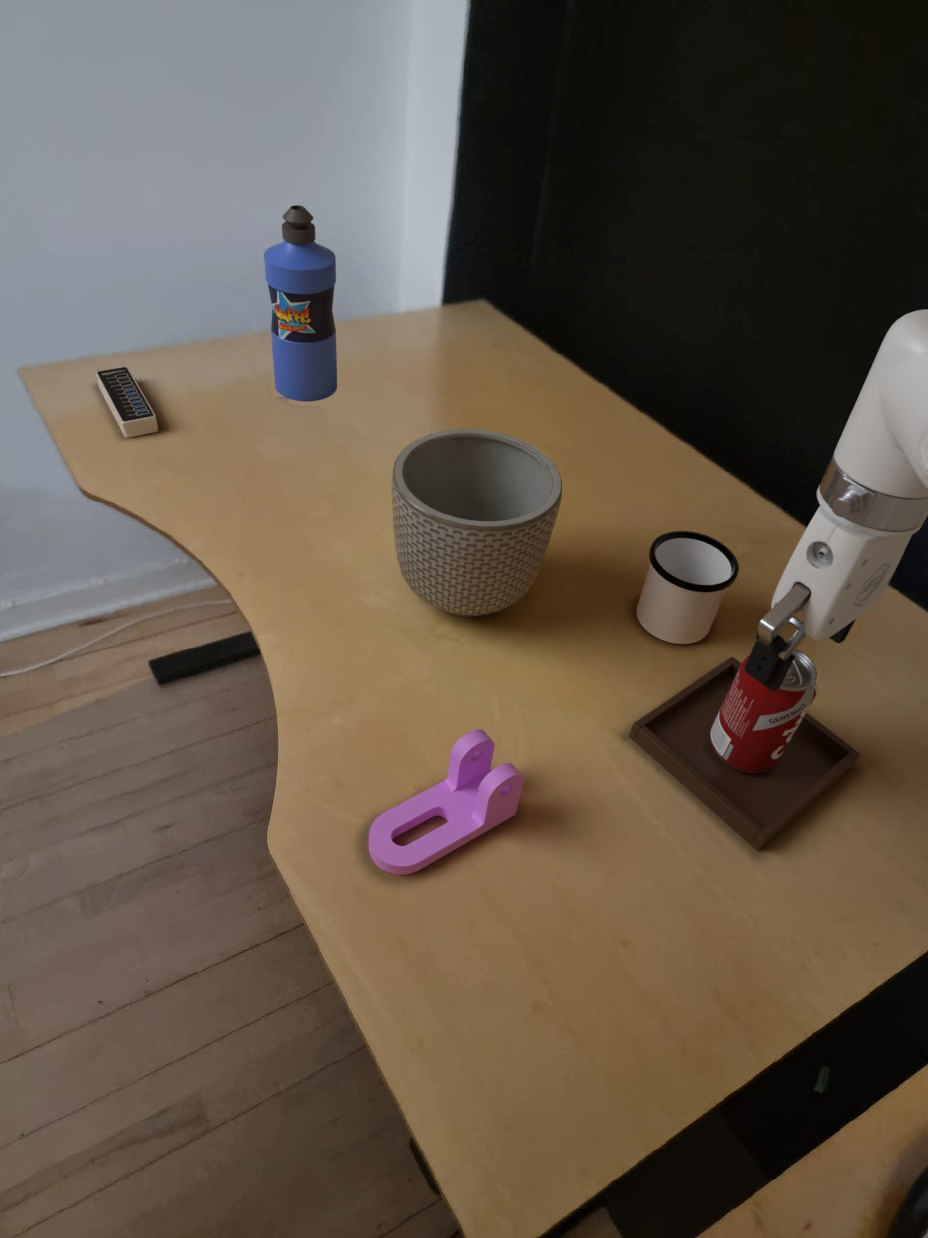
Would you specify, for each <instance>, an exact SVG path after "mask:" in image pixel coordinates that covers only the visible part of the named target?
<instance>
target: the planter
mask: <svg viewBox="0 0 928 1238" xmlns="http://www.w3.org/2000/svg"><path fill="white" fill-rule="evenodd" d="M390 480H391V481H390V484H391V485H390V486H391V488H390V489H391V491H390V492H391V506H392V507H391V509H392V526H393V527H392V528H393V538H394V547H395V554H396V558H397V559H396V560H397V564H398V566H399V570H400V573H401V575H402V577H403V579H404V581H405V583H406V584H407V587H408V588H410V590H411V591H412V592H413V593H414V594H415V595H416V596H417V597H418V598H419V599H421V600H422V601H424V602H425V603H427V605H430V606H432V607H434V608H435V609H438V610H440V611H441V612H443V613H445V614H448V615H450V616H454V617H457V618H458V617H459V618H475V617H476V618H477V617H482V616H484V615H488V614H493V613H497V612H500V611H502V610H505V609H507V608H508V607H510V606H512V605H514V604H516V603H517V602H518V601H520V600H521V599H522V598H523V597H524V596H525V595H526V593H527V592H528V591H529V590H530V589H531V587H532V586H533V584H534V582H535V580H536V578H537V576H538V574H539V572H540V570H541V568H542V565H543V563H544V559H545V556H546V553H547V551H548V548H549V545H550V542H551V541H550V540H551V538H552V536H553V531H554V528H555V525H556V521H557V518H558V515H559V512H560V511H559V510H560V506H561V501H562V498H563V480H562V477H561V473H560V471H559V470H558V468H557V466H556V465H555V463H554V462H553V461H552V460H551V459H550V458H549V457H548V456H547V455H546V454H545V453H544V452H543V451H542V450H540V449H538V448H537V447H535V446H534V445H533V444H530V443H528V442H526V441H524V440H522V439H520V438H518V437H514V436H512V435H509V434H504V433H502V432H497V431H494V430H493V431H492V430H488V429H487V430H486V429H479V428H478V429H477V428H457V429H448V430H442V431H438V432H434V433H433V432H432V433H429V434H427V435H425V436H422V437H420V438H418V439H416V440H414V441H413V442H410V443H409V444H408V445H406V446H405V447H404V448H403V449H402V451H400V453H399V454H398V455H397V457H396V458H395V461H394V463H393V467H392V473H391V479H390Z"/></svg>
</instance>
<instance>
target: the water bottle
mask: <svg viewBox="0 0 928 1238" xmlns="http://www.w3.org/2000/svg"><path fill="white" fill-rule="evenodd" d="M282 219H283V220H284V222H282V224H281V233H282V239H283V241H282V242H280V243H277V244H274V245H272V246H270V247H268V248H267V249H266V250H264V253H263V260H264V261H263V262H264V273H265V274H264V275H265V282H266V283H267V286H268V292H269V298H270V303H271V307H272V309H271V324H270V335H271V349H272V362H273V376H274V388H275V391H276V392H277V393H278V394H279V395H281V396H282V397H283V398H285V399H289V400H291V401H296V402H305V403H306V402H317V401H322V400H325V399H327V398H329V397H331V396H333V395H334V394H335V392H337V388H338V357H337V354H338V353H337V350H338V349H337V329H336V324H335V318H334V312H333V306H334V295H335V286H336V285H335V284H336V283H337V282H336V281H337V262H336V261H337V258H336V254H335V252H334V251H332V250H331V249H330V248H328V247H326V246H324V245H321V244H319V243H316V241H315V240H316V226H315V224H314V223H313V220H314V216H313V215H312V214H311V212H309V210H308V209H306V207H305V206H303V205H299V204H297V205H296V204H295V205H291V206H290V207H289V208H288V209H287V210H286V212H284V214H283V215H282Z"/></svg>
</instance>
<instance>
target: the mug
mask: <svg viewBox="0 0 928 1238" xmlns="http://www.w3.org/2000/svg"><path fill="white" fill-rule="evenodd" d="M648 559H649V562H650V565H649V567H648V571H647V573H646V577H645V580H644V583H643V586H642V589H641V592H640V596H639V598H638V602H637V605H636V609H635V610H636V617H637V620H638V623H640V625H641V627H642V628H644V630H646V631H647V632H648V633H649V634H650V635H652V636H654V637H655V638H657V639H659V640H661V641H664V642H667V643H671V644H676V645H689V644H694V643H698V642H699V641H701V640H703V639H704V638H705V637H707V635H708V634H709V632H710V630H711V627H712V625H713V622H714V620H715V617H716V615H717V613H718V610H719V608H720V605H721V603H722V601H723V598H724V596H725V593H727V591H729V590H730V588H731V587H732V585H733V584H734V583H735V582H736V580H737V578H738V576H739V571H740V562H739V561H738V558H737V557H736V555H735V554H734V552H733V551H732V550H731V549H730V548H729V547H727V546H726V545H725V544H724V543H722V542H721V541H720V540H718V539H717V538H714V537H712V536H709V535H707V534H704V533H700V532H697V531H693V530H691V531H690V530H675V531H674V530H673V531H669V532H665V533H663V534H661V535H658V537H656V538H655V539H654V540H653V541H652V542H651V545H650V547H649V550H648Z"/></svg>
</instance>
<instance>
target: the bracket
mask: <svg viewBox="0 0 928 1238" xmlns="http://www.w3.org/2000/svg"><path fill="white" fill-rule="evenodd" d="M495 746H496V745H495V742H494V741H493V739H491V737H490V736H489V734H487V732H486V731H485V730H484V729H481V728H477V729H473V730H471V731H468V732H467V733H465V734H464V735H462V736H461V737H460V738H459V739H458V740H457V741H456V742H455V744H454V745H453V747H452V748H451V750H450V754H449V762H448V763H449V764H448V771H447V776H446V778H445V779H444V780H443V781H441V782H438V783H437V784H435V785H433V786H431V787H429V788H427V789H426V790H424V791H422V792H420V793H418V794H416V795H414V796H412V797H410V798H409V799H407V800H405V801H402V802H401V803H399V804H397V805H395V806H393V807H392V808H390V809H387V810H386V811H384V812H382V813H381V814H380V815H379V816H377V817H376V818H375V819H374V821H373V822H372V824H371V826H370V828H369V831H368V852H369V856H370V857H371V860H372V861H373V863H374V864H375V866H377V867H378V868H379V869H381V870H382V871H384V872H386V873H389V874H392V875H398V876H405V875H412V874H414V873H416V872H418V871H420V870H422V869H424V868H426V867H427V866H429V865H431V864H432V863H434V862H436V861H438V860H440V859H441V858H443V857H445V856H446V855H448V854H450V853H451V852H453V851H455V850H457V849H459V848H460V847H462V846H464V845H465V844H467V843H469V842H471V841H472V840H475V839H476V838H478V837H479V836H481V835H483V834H485V833H487V832H488V831H489V830H491V829H493V828H495V827H497V826H498V825H500V824H502V823H503V822H505V821H507V820H509V819H510V818H513V817H514V816H516V815H517V811H518V806H519V801H520V798H521V794H522V789H523V785H524V781H525V779H524V776H523V774H522V773H521V772H520V771H519V770H518V769H517V768H516V766H515V765H514V764H513V763H512V762H505V763H502V764H500V765H498V766H496V767H495V768H493V769H492V770H491V768H492V762H493V757H494V752H495ZM434 817H442V818H444V819H445V820H446V822H445V823H444V824H442V825H441V826H439V827H437V828H434V829H433V830H432V831H430V832H427V833H426V834H424V835H422V836H421V837H419V838H417V839H415V840H414V841H412V842H410V843H408V844H406V845H398V844H396V843H395V842H394V841H393V840H394V839H395V838H396V837H398V836H400V835H402V834H403V833H405V832H407V831H409V830H411V829H413V828H415V827H416V826H418V825H420V824H422V823H424V822H426V821H428V820H429V819H431V818H434Z"/></svg>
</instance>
